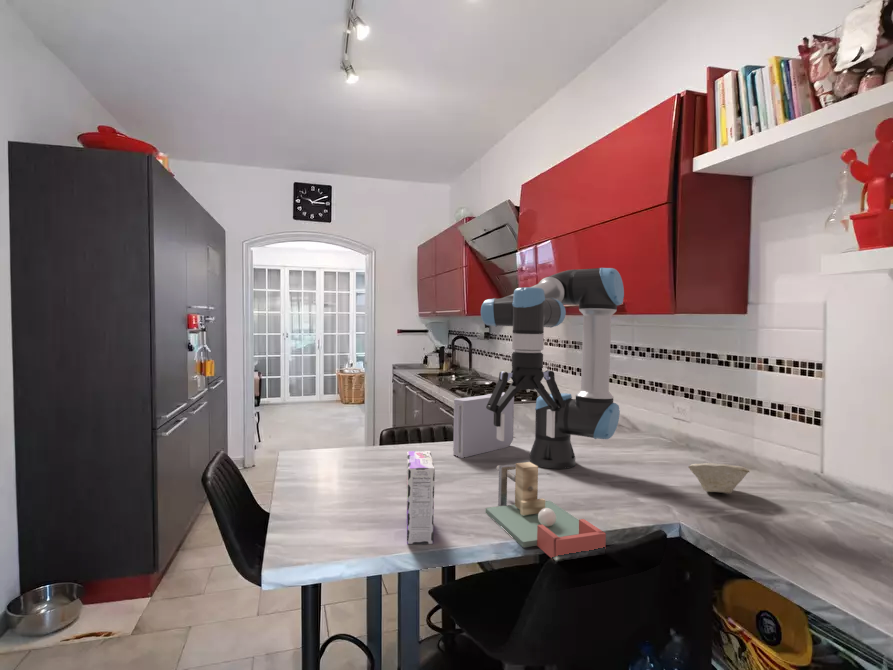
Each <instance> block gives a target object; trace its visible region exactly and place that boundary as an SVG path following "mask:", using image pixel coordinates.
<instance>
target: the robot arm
mask: <svg viewBox="0 0 893 670" xmlns="http://www.w3.org/2000/svg"><path fill="white" fill-rule="evenodd" d="M624 297H625V289H624V281H623V279H622V276H621V274H620V273H619V271H618V270H617V269H616V268H613V267H597V268H582V269H575V268H574V269H567V270H564V271H559V272H557V273H554V274H552V275H550V276H546V277H544V278H542V279H541V280H540V281H539V282H538V283H537V284H535V285H532V286H529V287H527V286H526V287H518V288H515V289H514V290H513V293H512V294H510V295H507V296H506V295H505V296H504V297H501V298H496V297H494V298H488V299H485V300H484V301H483V303H482V304H481V307H480V318H481V322H483V323H484V325H486V326H489V327H490V326H492V327H512V334H511V335H512V336H511V337H512V339H511V341H512V343H511V349H512V350H514V351H513V352H512V353H511V371H510V372H509V371H508V372H507V371H503V370H500V371H499V375H498V381H497V382H496V385H495V387H494V389H493V391H492V393H491V394H492V395H491V397H490V399H489V402H488V404H487V406H486V408H487V409H488V410H490V411H493V412H494V426H496V427H497V439H498V440H500V441H504V421H505V414H504V413H502V411H503V410H504V408H505V407H506V406H507V404H508V403H509V402H510V400H511V399H512V398H513V397H514V398H515V396H516V394H517V393H518V392H519V391H521V390H522V391H527V390H530V391H534V390H535V391H536V392H537V394H538V395H539V396H538V397H537V398H536V400H535V401H536V402H535V425H534V428H535V429H534V430H535V431H534V432H535V433H534V434H535V435H534V440H533V445H532V447H531V450H530V452H529V462H531V463H533V464H534V465H536V466H538V468H545V469H553V470H554V469H555V470H556V469H557V470H561V469H562V470H563V469H570V468H573V467H575V466H576V456H575V452H574V448H573V444H572V442H571V440H572V439H571V435H572V436H577V437H579V436H580V437H585V438H591V439H595V440H609V439H611V438H612V437H613V436H614V435H615V433H616V431H617V428H618V425H619V421H620V420H619V419H620V412H621V410H620V405H619V404H618V403H615V402H614V395H612V394H611V393H610V363H611V340H612V339H611V334H612V316H613V315H614V314H615V313H616V312H617V308H618V306H620V305H622V304H623V303H624ZM566 305H568V306H571V305H573V306H578V310H579V313H581V315H583V323H582V347H581V349H582V350H581V352H582V353H581V372H580V373H581V374H580V375H581V376H580V378H581V379H580V389H579V390H578V391H577V393H575V398H573V396H572V394H571V393H568V392H567V393H566V392H565V393H564V392H561V391H560V389H559V387H558V384H557V382H556V380H555V379H556V378H555V372H554V371H553V370H545V371H544V370H543V367H544V354H543V352H542V351H543V350H544V342H545V341H544V329H545V328H555V327H558V326H560V325H561V324H562V323H563V322H564V320H565V319H566V314H567V313H566V307H565V306H566ZM510 379H511V380H512V382H511V383H510V384H509V386H508V388H507V389H506V391H505V394H504V395H503V396H502V398H501V399H500V397H501V395H502V393H503V392H504V390H505V388H506V386H507V384H508V382H509V380H510ZM543 379H544V380H545V382H546V385H547V387H548V389H549V391H550V393H549V392H548V391H547V390H546V388H545V385H544V384H543V383H542V380H543ZM499 399H500V400H499Z"/></svg>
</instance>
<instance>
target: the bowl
mask: <svg viewBox="0 0 893 670" xmlns="http://www.w3.org/2000/svg"><path fill="white" fill-rule="evenodd" d="M688 469H690V471H691V472H692V474H693V475H694V476H695V477H696V479H697V480H698V482H699V484H700V485H701V488H702V489H703V490H704V491H705V492H706V493H721V494H732V493H733V491H734V490H735V488H736V487H737V486H738V485H739V484H740V483H741V482H742V481H743V479H745V477H746V476H747V474H748V473H750V469H749V468H747V467H746V466H742V465H732V464H727V463H715V462H714V463H713V462H712V463H711V462H705V463H704V462H703V463H692V464H690V465H689V466H688Z"/></svg>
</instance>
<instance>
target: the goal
mask: <svg viewBox="0 0 893 670" xmlns="http://www.w3.org/2000/svg"><path fill="white" fill-rule="evenodd" d="M578 520H579V534H577V535H571V536H564V537H558V536H557V535H556V534H554V533H553V532H552V531H550V530H549V529H548V528H546V527H545V526H544V525H543V524H542V525H537V546H536V547H537V548H539V549H540V550H541V551H543V552H544V553H545V554H546V556H548V557H549V558H550V559H552V557H555V556H558V555H564V554H569V553H576V552H581V551H589V550H594V549H598V548H603V547H605V548H606V545H607V544H606V543H607V542H606V540H607V539H606V537H607V533H606V532H605V531H603V530H602V529H600V528H598V527H597V526H596V525H593V523H591V522H590V521H588V520H586V519H584V518H581V519H578Z"/></svg>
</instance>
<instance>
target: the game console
mask: <svg viewBox="0 0 893 670" xmlns="http://www.w3.org/2000/svg"><path fill="white" fill-rule="evenodd" d="M505 392H506V391H505ZM505 392H504V391H503V393H502V395H501V397H500V399H501V398H502V396H503V395H504V394H505ZM491 395H492V393H488V394H484V395H475V396H467V397H461V398H454V399H453V444H452V445H453V446H452V451H453V453H452V454H453V456H454V455H456V456H455V457H457V456H458V458H462V459H463V458H464V457H465V458H468V457H471V456H472V457H473V456H475V455H480V454H484V453H485V454H486V453H489V452H492V451H496V450H501V449H505V448H509V447H510V446H511V445H512V442H513V440H514V421H515V420H514V419H515V417H514V413H515V411H514V410H515V396H514V397H513V398H512V399H511V400H510V402H509V403H508V404H507V406H506V407H505V408H504V410H503V411H502V413H504V414H505V421H504V441H500V440H498V439H497V427H496V426H494V412H493V411H490V410H488V409H487V408H486V406H487V404H488V402H489V399H490V397H491ZM500 399H499V400H500Z"/></svg>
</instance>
